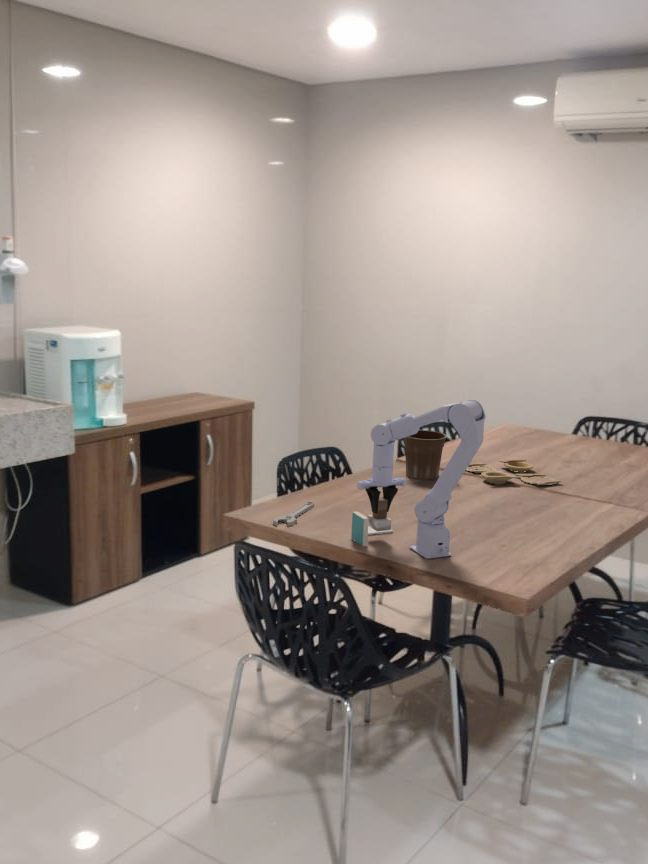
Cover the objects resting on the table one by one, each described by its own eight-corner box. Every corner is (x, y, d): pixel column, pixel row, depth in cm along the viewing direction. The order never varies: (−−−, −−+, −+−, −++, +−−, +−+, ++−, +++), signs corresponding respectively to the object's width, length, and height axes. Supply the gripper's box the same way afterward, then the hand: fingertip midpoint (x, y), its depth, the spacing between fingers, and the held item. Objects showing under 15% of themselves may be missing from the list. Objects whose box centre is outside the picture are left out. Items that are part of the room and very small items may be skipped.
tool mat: (393, 532, 247) (393, 530, 247) (366, 535, 243) (366, 533, 243) (378, 523, 255) (378, 521, 255) (352, 526, 251) (352, 524, 251)
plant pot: (438, 484, 304) (441, 440, 301) (395, 478, 309) (398, 435, 306) (447, 474, 319) (450, 432, 316) (406, 469, 324) (409, 428, 321)
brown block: (390, 529, 238) (392, 501, 236) (377, 531, 236) (378, 502, 234) (380, 523, 243) (382, 495, 241) (367, 524, 241) (368, 496, 239)
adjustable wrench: (307, 505, 272) (308, 500, 272) (325, 509, 270) (325, 503, 269) (269, 525, 250) (270, 519, 250) (288, 529, 248) (289, 523, 247)
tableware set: (566, 488, 307) (567, 477, 306) (492, 490, 300) (493, 479, 299) (522, 465, 340) (523, 455, 339) (455, 466, 333) (455, 456, 332)
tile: (367, 545, 234) (368, 518, 233) (362, 546, 234) (363, 519, 232) (356, 538, 241) (357, 511, 239) (351, 538, 240) (352, 511, 238)
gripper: (398, 460, 242) (395, 505, 245) (353, 463, 236) (351, 509, 239) (410, 466, 236) (407, 512, 238) (364, 469, 230) (362, 517, 232)
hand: (380, 511), depth 238 cm, fingers closed on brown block, 3 cm apart
